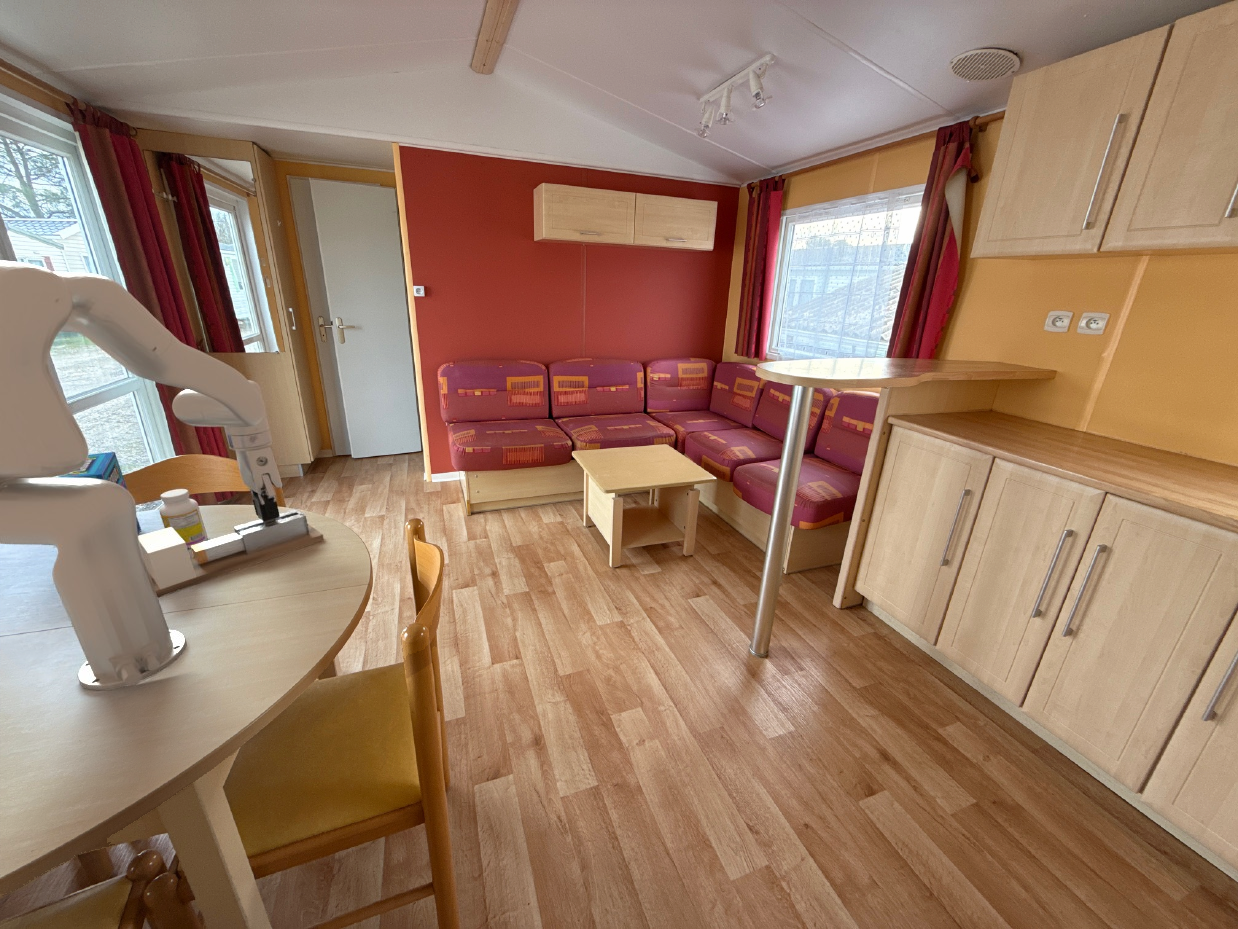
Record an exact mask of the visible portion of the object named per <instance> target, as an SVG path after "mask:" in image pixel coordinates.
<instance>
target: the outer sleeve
mask: <svg viewBox="0 0 1238 929" xmlns="http://www.w3.org/2000/svg"><path fill="white" fill-rule="evenodd" d="M279 515H280V516H279V517H278V518H275V522H271V523H268V524H264V522H263V521H262V520H261V519H259V518H258V519H257V520H256V519H255V520H253V521H249V522H247V523H246V522H245V523H243V524H239V525H236V526H235V525H234V526H233V530H234V533H236V532H237V533H238V532H239V533H240V535H241V536H242V538H243V542H244V546H245V550H243V551H244V552H245V553H246V554H247V555H250V554H253V553H256V552H259V551H262V550H265V549H268V548H271V547H274V546H277V545H280V544H283V543H286V542H289V541H292V540H295V539H298V538H301V537H304V536H307V535H310V533H309V529H308V524H309V523H308V519H307V516H306V515H305V514H304V513H303V512H301V511H300V510H298V509H297V508H293V509H291V510H288V511H284V512H279Z"/></svg>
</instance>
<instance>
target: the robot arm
mask: <svg viewBox="0 0 1238 929" xmlns="http://www.w3.org/2000/svg"><path fill="white" fill-rule="evenodd" d="M59 333H75V334H80V335H82V336H84V338H87V339H88V340H89V341H91V342H92V344H94V345H96V346H97V347H98V348H99V349H101V350H102V351H104V352H105V353H106V354H107V355H108V356H110V357H111V358H112V359H113V360H115V361H116V362H117V363H119V365H121V366H122V367H124V369H126V370H127V371H128V372H130V373H131V374H133V375H134V376H137V377H139V378H143V379H145V380H148V381H151V382H155V383H158V384H161V385H164V386H170V387H174V388H178V389H179V388H180V389H184V390H181V391H180V392H179V393H178V394H177V395H176V396H175V397H174V398H173V401H172V404H171V408H172V412H173V414H174V416H175V417H176V418H177V419H178V420H179V421H180V422H182V423H184V424H186V425H189V426H194V427H211V428H213V427H214V428H215V427H216V428H217V427H223V428H224V432H225V435H226V436H225V437H226V439H227V442H228V448H229V449H230V450H231V451H235V455H236V460H237V465H238V468H239V469H238V470H239V473H240V476H241V479H242V482H243V483H244V485H245V486H247V487H248V488H249V490H250V494H251V498H252V503H253V507H254V511H255V514H256V516H257V517H258V514H257V510H256V506H255V502H254V498H253V495H257V494H258V496H259V500H260V503H261V504H259V507H260V511H261V515H262V519H263V520H264V521H267V520H271V519H274V518H278V517H279V516H280V515H279V514H280V511H279V507H278V503H277V494H276V491H275V488H277V489H282V487H283V483H282V479H281V476H280V472H279V469H278V466H277V462H276V459H275V455H274V453H273V449H272V448H271V445H272V444H273V439H272V435H271V434H272V433H271V431H270V426H269V422H268V417H267V412H266V404H265V401H264V399H263V395H262V390H261V387H260V385H259V384H258V382H256V381H255V380H249V379H247V378H246V377H245V375H243V374H242V373H241V372H240V371H238V370H237V369H236V368H234V367H232V366H231V365H229V364H227V363H225V362H223V361H221V360H219V359H217V358H215V357H213V356H211V355H209V354H207V353H205V352H203V351H201V350H199V349H196V348H194V347H192V346H189V345H187V344H185V343H183V342H182V341H180V340H179V339H178V338H177V337H176V336H174V334H173V333H172V332H171V331H170V330H169V329H167V327H165V326H164V325H163V324H162V323H161V322H160V321H159V320H158V319H157V318H156V317H155V316H153V314H152V313H150V311H149V310H148V309H147V308H146V307H145V306H144V305H143V304H142V303H141V302H139V301H138V300H137V299H136V298H135V297H134V295H132V293H130V292H129V291H128V290H127V288H125V287H124V286H122V285H121V284H120V283H119V282H117V281H116V280H113V279H112V278H110V277H106V276H103V275H99V274H97V273H96V274H94V273H89V272H88V273H87V272H73V271H72V272H71V271H69V272H68V271H66V272H63V271H52V270H50V269H47V268H46V267H42V266H39V265H35V264H31V263H25V262H21V261H11V260H0V545H24V546H25V545H28V546H29V545H32V546H35V545H36V546H37V545H42V546H54V547H56V548H57V556H56V559H55V562H54V564H53V568H52V580H53V584H54V587H55V590H56V591H57V594H58V596H59V598H60V599H61V603H62V604H63V607H64V609H65V611H66V614H67V616H68V618H69V620H70V624H71V625H72V629H73V631H74V633H75V635H76V637H77V640H78V642H79V644H80V647H81V650H82V651H83V654H84V655H85V659H86V661H85V662H84V663H83V665H82V666H81V667H80V668H79V671H78V672H77V678H78V681H79V684H80V685H81V687H83V688H85V689H88V690H92V691H107V690H113V689H114V690H115V689H117V688H124V687H126V686H135V685H137V684H138V683H139V682H141V681H143V680H146V679H148V678H151V677H152V676H154V675H156V674H159V673H160V672H162V671H164V670H165V669H166V668H168V667H170V666H171V665H172V664H173V663H174V662H176V661H177V660H178V659H179V658H180V657H181V656H182V655H183V653H184V652H185V651H186V648H187V643H188V642H187V640H186V636H185V635H184V634H183V633H182V632H181V631H177V630H172V629H169V626H168V624H167V620H166V618H165V615H164V612H163V609H162V607H161V603H160V601H159V597H157V594H156V591H155V588H154V586H153V583H152V580H151V577H150V574H149V571H148V568H147V565H146V563H145V560H144V557H143V554H142V550H141V547H140V543H139V539H138V533H137V519H138V518H137V519H136V516H137V507H136V506H137V505H136V500H135V499H134V497H133V495H132V494H131V493H130V492H129V490H128V491H127V490H126V489H125V488H124V487H122V486H120V485H118V484H116V483H114V482H111V481H107V480H102V479H95V478H69V477H58V476H63V475H67V474H70V473H72V472H75V471H76V470H78V469H80V468H81V467H82V466H83V465H84V464H85V462H86V461H87V459H88V455H90V453H89V446H88V442H87V439H86V438H85V435H84V433H83V431H82V430H81V427H80V425H79V424H78V422H77V420H76V418H75V416H74V414H73V413H72V411H71V409H70V407H69V406H68V403H67V402H66V400H65V397H64V396H63V394H62V392H61V390H60V389H59V387H58V385H57V382H56V381H55V378H54V377H53V374H52V372H51V367H50V355H51V354H50V353H51V350H52V346H53V344H54V342H55V339H56V338H57V336H58V334H59ZM50 477H52V478H50ZM274 487H275V488H274ZM264 493H266V495H264V497H263V495H262V494H264Z"/></svg>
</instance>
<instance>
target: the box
mask: <svg viewBox="0 0 1238 929" xmlns="http://www.w3.org/2000/svg"><path fill="white" fill-rule="evenodd" d="M58 477H69V478H95V479H102V480H107V481H111V482H114V483H116V484H118V485H120V486H122V487H124V488H125V489H126V490H127V491H129V489H128V487H127V484H126V481H125V477H124V475H123V472H122V468H121V466H120V463H119V460H118V458H117V454H116V451H109V452H99V453H94V454H93V453H92V454H91V453H90V454H88V459H87V461H86V462H85V464H84V465H83V466H82V467H81V468H80V469H78V470H76V471H75V472H72V473H70V474H67V475H63V476H58ZM50 478H52V477H50ZM136 519H137V533H138V536H139V535H141V531H142V529H141V525H140V522H139V519H138V516H137V515H136Z"/></svg>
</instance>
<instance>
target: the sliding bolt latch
mask: <svg viewBox="0 0 1238 929" xmlns="http://www.w3.org/2000/svg"><path fill="white" fill-rule="evenodd" d="M262 495H263V497H264V495H266V493H264V494H262ZM253 498H254V502H255V506H256V510H257V514H258V516H257V517H258V520H259V519H261V520H262V521H263V522H264V524H268V523H271V522H275V518H274V519H271V520H267V521H264V520H263V519H262V515H261V511H260V507H259V504H261V503H260V500H259V496H258V494H257V495H253ZM253 498H252V499H253ZM190 550H191V552H192V557H194V559H195V560H196V561H197V562H198V563H199V564H202V563H205V562H209V561H212V560H215V559H218V558H221V557H224V556H227V555H230V554H233V553H236V552H239V551H243V550H245V546H244V542H243V538H242V536H241V535H240V533H239V532H238V533H237V532H236V533H235V532H232V533H230V534H227V535H223V536H219V537H217V538H213V539H209V540H206V541H205V542H202V543H199V544H195V545H192V546H191V548H190Z"/></svg>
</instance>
